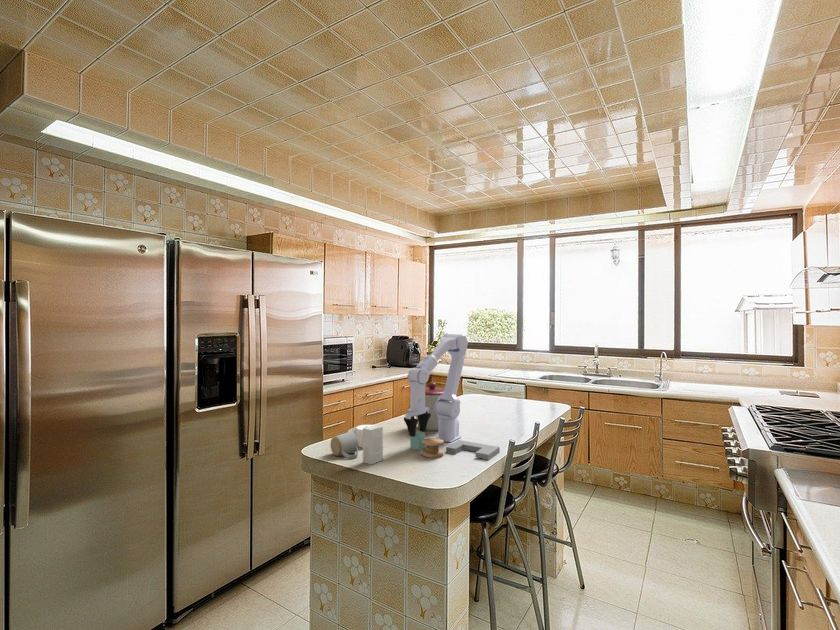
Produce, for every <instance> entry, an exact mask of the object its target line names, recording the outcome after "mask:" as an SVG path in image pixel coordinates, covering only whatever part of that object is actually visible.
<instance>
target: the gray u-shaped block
mask: <svg viewBox="0 0 840 630" xmlns="http://www.w3.org/2000/svg"><path fill="white" fill-rule="evenodd" d="M463 449H464V450H463ZM500 449H501V448H500V446H498V445H497V446H496V445H489V444H485V443H478V442H471V441H469V440H461V439H457V441H456V440H455V442H454V441H453V442H452V443H451V444H449V445H447V446H446V448H445V453H447V452H448V453H447V454H452V453H453V454H452V455H456V454H458V453H460V452H462V451H468V450H470V451H469V452H474V451H476V452H475V458H476V457H477V458H476V459H479V458H482V459H481V460H484V459H486V460H485V461H490V460H491V459H492V458H494V457H495V456H497V455H498V454H499V453H500ZM461 450H462V451H461ZM489 459H490V460H489Z"/></svg>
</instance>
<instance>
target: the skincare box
mask: <svg viewBox="0 0 840 630" xmlns="http://www.w3.org/2000/svg"><path fill="white" fill-rule="evenodd" d="M372 425H373V426H369V427H366V428H363V447H362V463H364V462H365V463H364V464H367V463H368V465H370V464H371V465H373V464H376V462H377V463H378V462H382V461H383V460H384V457H383V456H384V455H383V454H384V451H383V450H384V449H383V448H384V447H383V444H384V443H383V442H384V441H383V440H384V439H383V438H384V437H383V435H384V433H383V431H384V429H383V428H384V427H383V426H380V425H376V424H372Z"/></svg>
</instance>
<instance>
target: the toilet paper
mask: <svg viewBox="0 0 840 630" xmlns="http://www.w3.org/2000/svg"><path fill="white" fill-rule="evenodd" d="M373 425H374V424H360V425H358V426H355V427H353V428H350V429H349V430H348V431H347V432H350V431H351V432H354V433H355V435H356V436H357V439H358V444H359V445H358V446H359V447H358V448H363V428H366V427H369V426H373Z"/></svg>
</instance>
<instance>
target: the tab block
mask: <svg viewBox="0 0 840 630" xmlns="http://www.w3.org/2000/svg"><path fill="white" fill-rule="evenodd" d="M425 433H426V431H425V432H421V431H420V430H416V434H415V437H412V436H409V439H410V442H409V443H410V444H409V445H410V446H409V447H410V449H411V450H416V451H420V450H423V449H424V448H425V446H426V445H424V444H422V440H423V439H426V438H425Z"/></svg>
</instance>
